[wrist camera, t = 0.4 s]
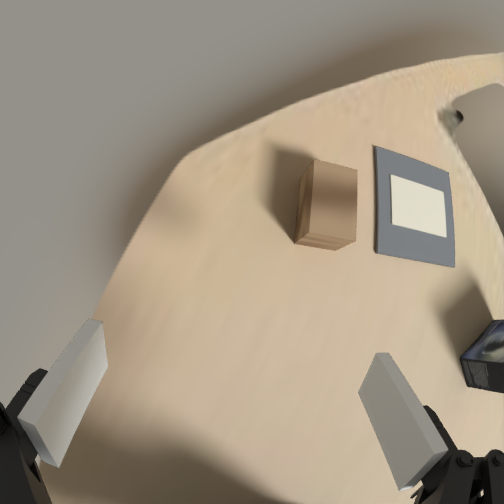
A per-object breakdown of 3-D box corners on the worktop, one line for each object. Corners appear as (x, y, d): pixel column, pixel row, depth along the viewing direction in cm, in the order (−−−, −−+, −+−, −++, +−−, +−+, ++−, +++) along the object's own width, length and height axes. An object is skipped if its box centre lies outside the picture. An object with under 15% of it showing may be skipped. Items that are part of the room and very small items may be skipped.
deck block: (334, 250, 35) (355, 240, 29) (293, 243, 34) (309, 232, 29) (338, 188, 36) (357, 169, 31) (299, 179, 36) (314, 159, 30)
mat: (452, 267, 37) (455, 266, 36) (375, 253, 35) (378, 252, 34) (446, 173, 39) (449, 172, 39) (374, 147, 38) (376, 145, 37)
